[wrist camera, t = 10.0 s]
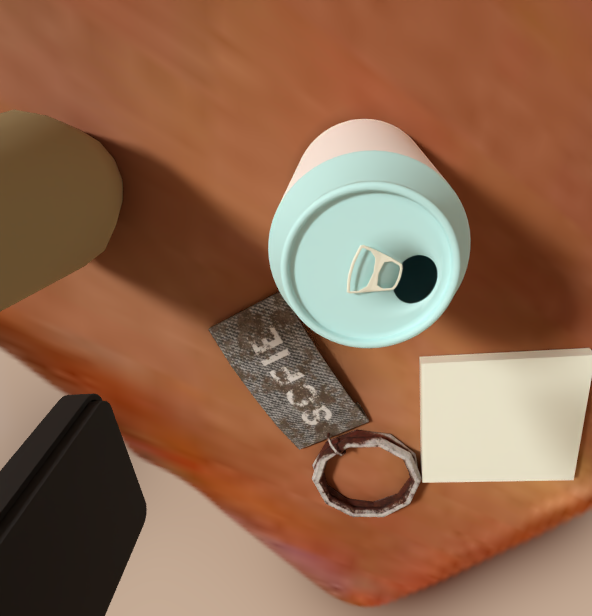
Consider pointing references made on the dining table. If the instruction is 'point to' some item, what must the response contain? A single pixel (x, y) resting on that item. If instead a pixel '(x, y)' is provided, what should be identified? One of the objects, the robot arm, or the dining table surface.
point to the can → (368, 237)
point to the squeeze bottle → (51, 202)
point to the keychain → (305, 396)
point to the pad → (503, 415)
